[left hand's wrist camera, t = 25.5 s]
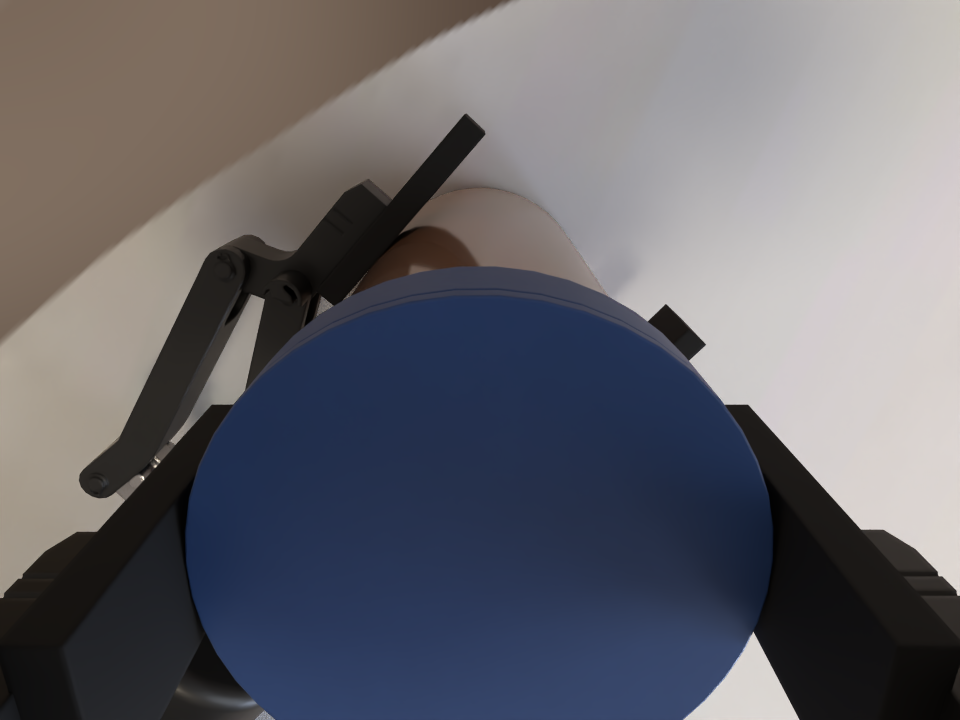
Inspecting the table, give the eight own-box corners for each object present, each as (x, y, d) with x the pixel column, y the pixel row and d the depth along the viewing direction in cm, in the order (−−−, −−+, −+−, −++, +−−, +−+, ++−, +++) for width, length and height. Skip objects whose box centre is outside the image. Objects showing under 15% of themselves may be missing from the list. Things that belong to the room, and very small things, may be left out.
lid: (121, 411, 12) (58, 464, 10) (613, 162, 10) (641, 173, 9) (383, 760, 15) (371, 849, 13) (798, 603, 13) (847, 680, 11)
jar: (335, 285, 27) (134, 531, 11) (486, 140, 25) (497, 195, 10) (473, 422, 29) (465, 791, 13) (622, 297, 27) (818, 558, 12)
